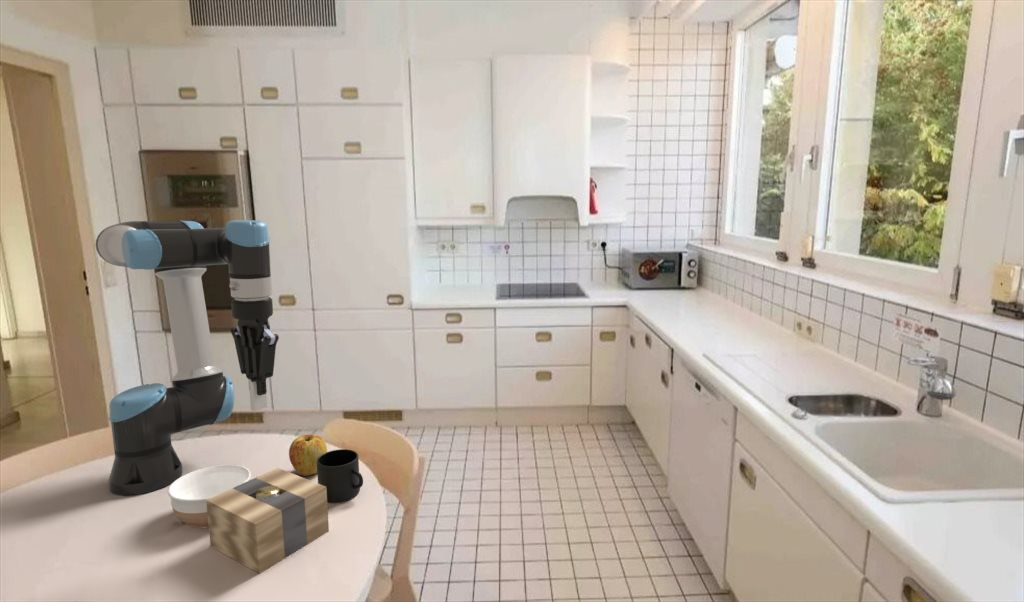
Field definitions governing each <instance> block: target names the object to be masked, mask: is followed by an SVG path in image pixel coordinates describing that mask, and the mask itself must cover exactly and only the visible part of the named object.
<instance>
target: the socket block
mask: <svg viewBox="0 0 1024 602" xmlns="http://www.w3.org/2000/svg"><path fill="white" fill-rule="evenodd" d="M266 486H277V487H279V491H280V495H278V496H276V497H274V498H272V499H270V500H268V501H266V502H261V501H259V500H257V499H256V491H257V490H259V489H260V488H263V487H266ZM206 503H207V514H208V524H209V527H208V534H209V542H210V547H211V548H213V549H215V550H216V551H219V552H220V553H222V554H223V555H226V556H227V557H228V558H231V559H233V560H234V561H236V562H238V563H240V564H242V565H243V566H245V567H247V568H248V569H250V570H251V571H252V570H253V571H254V572H256V573H258V574H261V573H263V572H264V571H266V570H268V569H270V568H271V567H273V566H275V565H277V563H279V562H281V561H283V560H284V559H286V558H287V557H289V556H290V555H292V554H294V553H296V552H297V551H299V550H300V549H302V548H304V547H305V546H307V545H309V544H310V543H312V542H314V541H315V540H317V539H319V538H320V537H321V536H323V535H324V534H326V533H329V531H330V530H329V529H330V528H329V513H328V508H329V507H328V502H327V489H326V486H323V485H320V484H318V482H315V481H312V480H310V479H307V478H305V477H304V476H301V475H297V474H295V473H291V472H289V471H287V470H284V469H283V468H282V469H281V468H279V467H276V468H274V469H272V470H269V471H267V472H266V473H265V472H264V473H263V474H261V475H259V476H257V477H254V478H252V479H250V480H249V481H247V482H245V483H243V484H241V485H239V486H236V487H234V488H232V489H230V490H227V491H225V492H223V493H221V494H219V495H216V496H214V497H212V498H210V499H207V500H206Z"/></svg>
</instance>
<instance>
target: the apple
mask: <svg viewBox="0 0 1024 602" xmlns="http://www.w3.org/2000/svg"><path fill="white" fill-rule="evenodd" d="M327 448H328V447H327V444H326V442H325V440H324V439H323V438H322V437H321V436H320V435H317V434H304V435H300V436H298V437H296V438H295V439H294V440H292V442H291V444H290V446H289V449H288V458H289V461H290V463H291V466H292V467H293V469H294V470H295V472H297V474H299V476H301V477H306V476H307V477H308V476H312V475H315V474H317V459H318V457H319V456H321V455H322V454H324V453H326V452H328V449H327Z"/></svg>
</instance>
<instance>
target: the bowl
mask: <svg viewBox="0 0 1024 602" xmlns="http://www.w3.org/2000/svg"><path fill="white" fill-rule="evenodd" d="M251 474H252V473H251V471H250V470H249V469H248V468H247V467H245V466H243V465H238V464H219V465H217V464H216V465H211V466H207V467H203V468H199V469H195V470H193V471H191V472H188V473H186V474H183V475H181V477H180V478H178V479H177V480H175V481H174V482H173V483H171V484H169V487H168V490H167V494H168V496H169V498H170V505H171V508H172V511H173V513H174V514H175V515H176V517H177V518H179V520H181V521H182V522H184V523H185V524H186V525H187V526H189V527H191V528H194V529H205V528H209V524H208V514H207V503H206V500H207V499H210V498H212V497H214V496H216V495H219V494H221V493H223V492H225V491H227V490H230V489H232V488H234V487H236V486H239V485H241V484H243V483H245V482H247V481H250V480H251V477H252V475H251Z"/></svg>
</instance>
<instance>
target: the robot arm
mask: <svg viewBox="0 0 1024 602" xmlns="http://www.w3.org/2000/svg"><path fill="white" fill-rule="evenodd" d="M270 241H271V240H270V236H269V230H268V225H267V223H266V222H265V221H263V220H255V219H253V220H251V219H242V220H241V219H235V220H229V221H227V222H226V224H225V226H224V227H223V226H219V227H218V226H217V227H215V228H214V227H213V228H212V227H209V228H206V227H205V228H204V226H203V225H202V224H200V223H199V222H197V221H193V220H181V219H179V220H148V221H147V220H143V221H140V220H133V221H124V222H120V223H116V224H112V225H110V226H108V227H105V228H104V229H102V230H101V232H99V234H98V235H97V237H96V239H95V250H96V251H97V252H96V253H97V254H98V256H99V257H100V258H101V259H102V260H103V261H104V262H107V263H109V264H110V265H113V266H118V267H124V268H128V269H131V270H150V271H151V270H154V275H155V276H156V277H158V278H159V279H160V280H162V281H163V288H164V294H165V295H164V296H165V299H166V300H165V301H166V305H167V306H166V307H167V311H168V312H167V313H168V319H169V326H170V331H171V339H172V344H173V350H174V357H175V365H176V371H177V372H176V373H175V375H174V376H173V377H172V379H171V383H172V386H171V387H166V385H165V384H163V383H157V382H156V383H150V384H149V383H146V384H142V385H137V386H134V387H132V388H129V389H126V390H124V391H122V392H120V393H118V394H116V395H115V396H114V397H113V398H112V399H111V400H110V402H109V417H108V418H109V422H110V424H111V425H110V427H111V433H112V435H111V436H112V444H113V450H114V460H113V463H112V468H111V470H110V473H109V478H108V484H109V486H108V487H109V491H110V492H111V493H113V494H116V495H118V496H119V495H121V496H131V495H132V496H134V495H141V494H145V493H150V492H153V491H157V490H160V489H164V488H165V487H167V486H170V485H171V484H172V483H173V482H174V481H175V480H177V479H178V478H180V477H182V476H183V463H182V461H181V460H180V458H179V456H178V454H177V452H176V451H175V449H174V447H173V445H172V435H174V434H177V433H181V432H185V431H189V430H192V429H197V428H201V427H204V426H208V425H210V426H211V425H214V424H216V423H219V422H222V421H225V420H227V419H229V417H231V415H232V412H233V410H234V406H235V388H234V385H233V382H232V379H231V378H230V377H229V376H227V375H224V373H223V370H222V369H221V368H219V367H218V366H216V363H215V357H214V351H213V343H212V338H211V331H210V325H209V319H208V318H209V317H208V313H207V306H206V300H205V294H204V293H205V292H204V288H203V281H202V276H203V275H204V274H205V272H207V270H208V269H207V266H214V265H215V266H217V265H228V277H229V284H228V285H229V286H228V287H229V288H230V297H231V298H233V299H232V300H230V301H231V302H230V304H231V305H230V306H231V316H232V318H234V319H236V320H237V325H236V327H232V328H230V333H231V335H232V338H233V342H234V346H235V350H236V355H237V360H238V364H239V369H240V373H241V375H245V377H246V379H247V380H248V391H249V399H250V410H251V411H253V412H257V411H260V410H263V409H266V408H268V399H267V398H268V397H267V393H268V392H267V379H269V378H272V377H273V376H274V368H275V360H276V347H277V343H278V341H279V339H280V338H279V334H278V333H275V334H273V333H272V331H271V326H270V322H269V318H270V317H272V316H273V314H274V307H273V305H274V304H273V298H272V297H271V295H273V287H272V276H271V275H272V274H271V257H270V256H271V255H270V253H271V252H270Z"/></svg>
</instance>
